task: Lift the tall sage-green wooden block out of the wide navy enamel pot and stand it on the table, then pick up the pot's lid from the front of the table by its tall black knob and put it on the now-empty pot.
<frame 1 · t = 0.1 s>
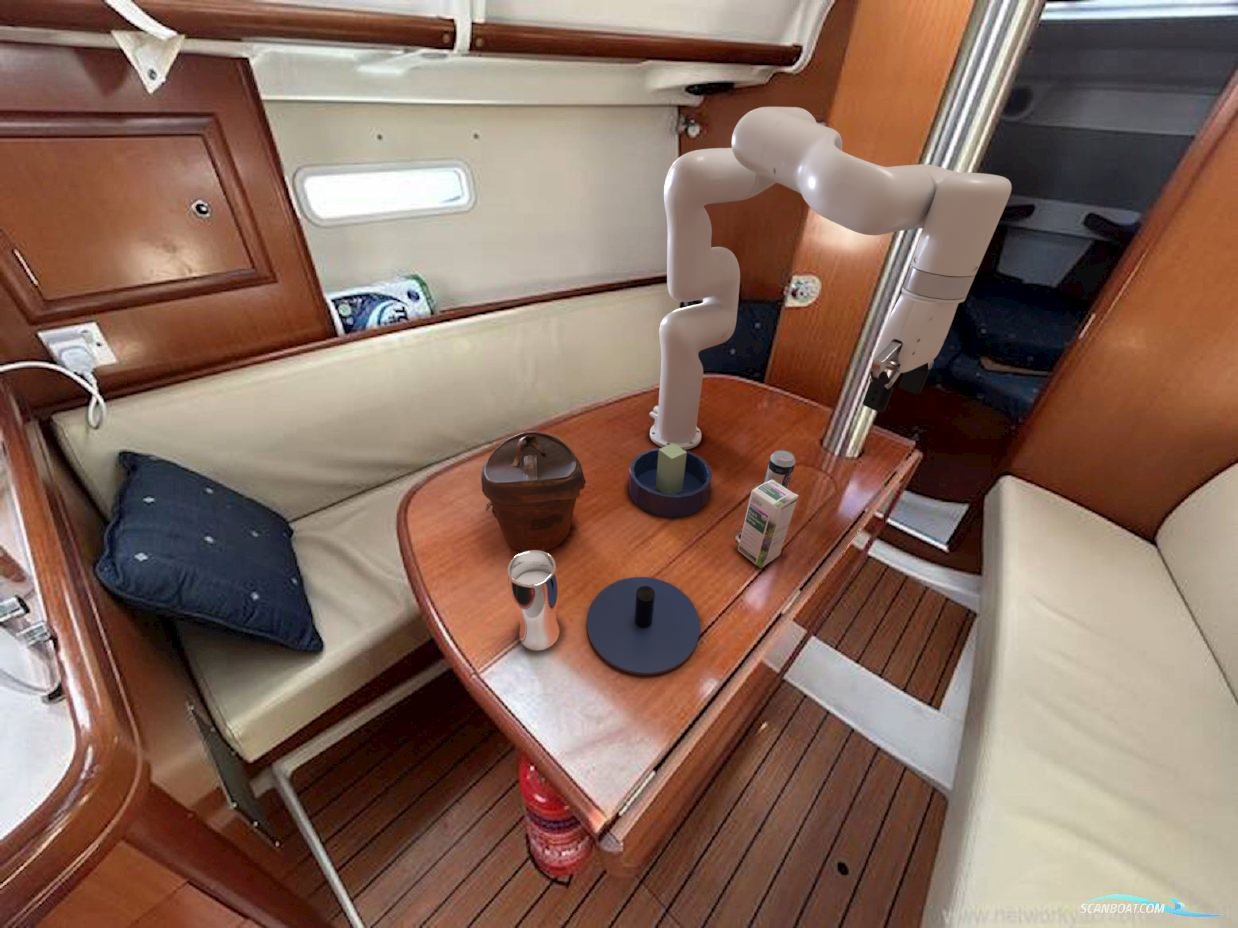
hand: (891, 399, 75), 31 cm above the table, tool pointing down, fingers open, 9 cm apart
syrup box: (758, 553, 92), on the table
pot: (668, 490, 106), on the table
beer glass: (539, 634, 78), on the table
lid: (643, 622, 79), point 1 cm above the table
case: (537, 528, 96), on the table
pill bottle: (771, 503, 104), on the table
block: (670, 470, 103), in the pot
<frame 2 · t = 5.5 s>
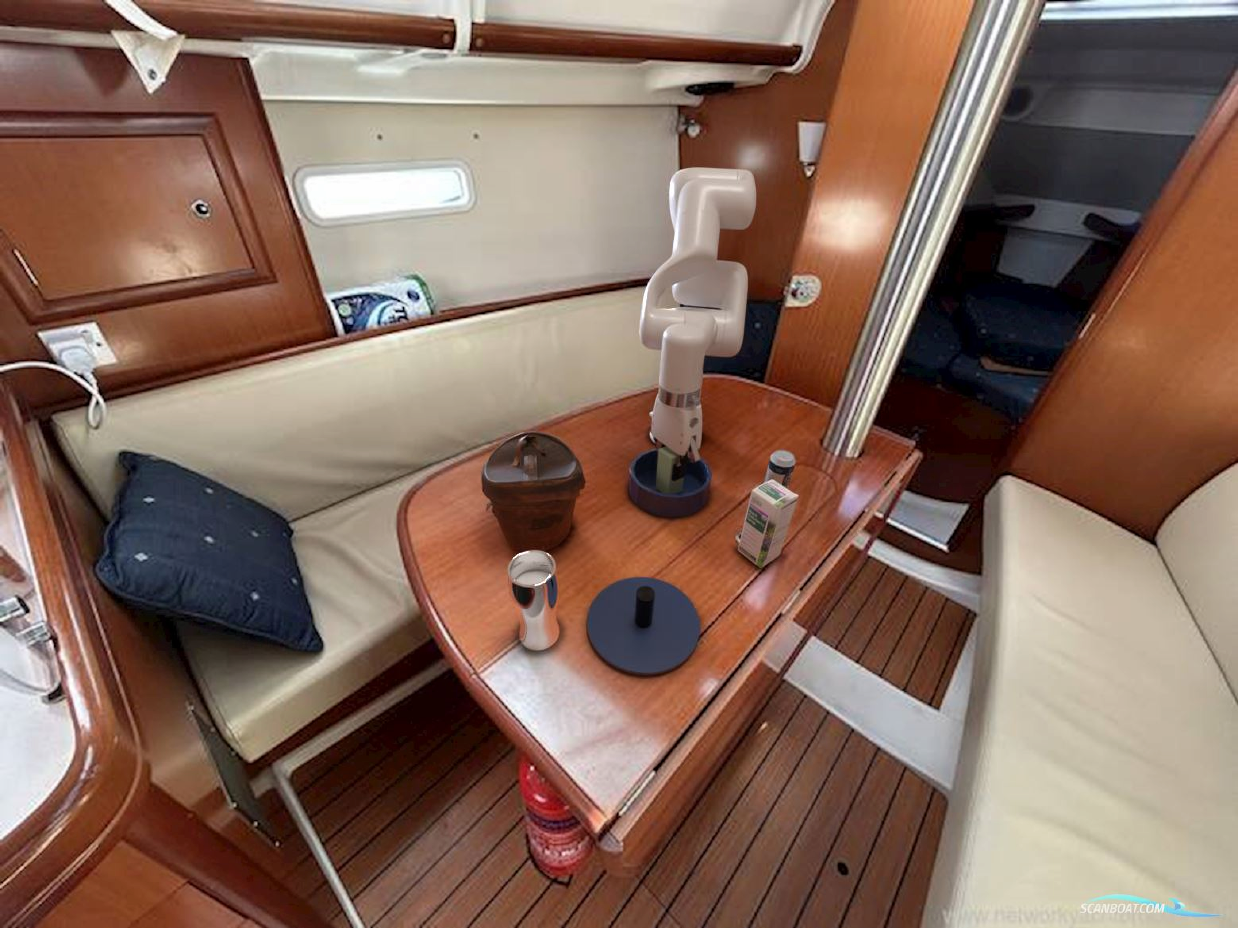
hand: (670, 471, 103), 5 cm above the table, tool pointing down, fingers closed on block, 4 cm apart
block: (670, 470, 103), in the pot, touching gripper
everything else where it was.
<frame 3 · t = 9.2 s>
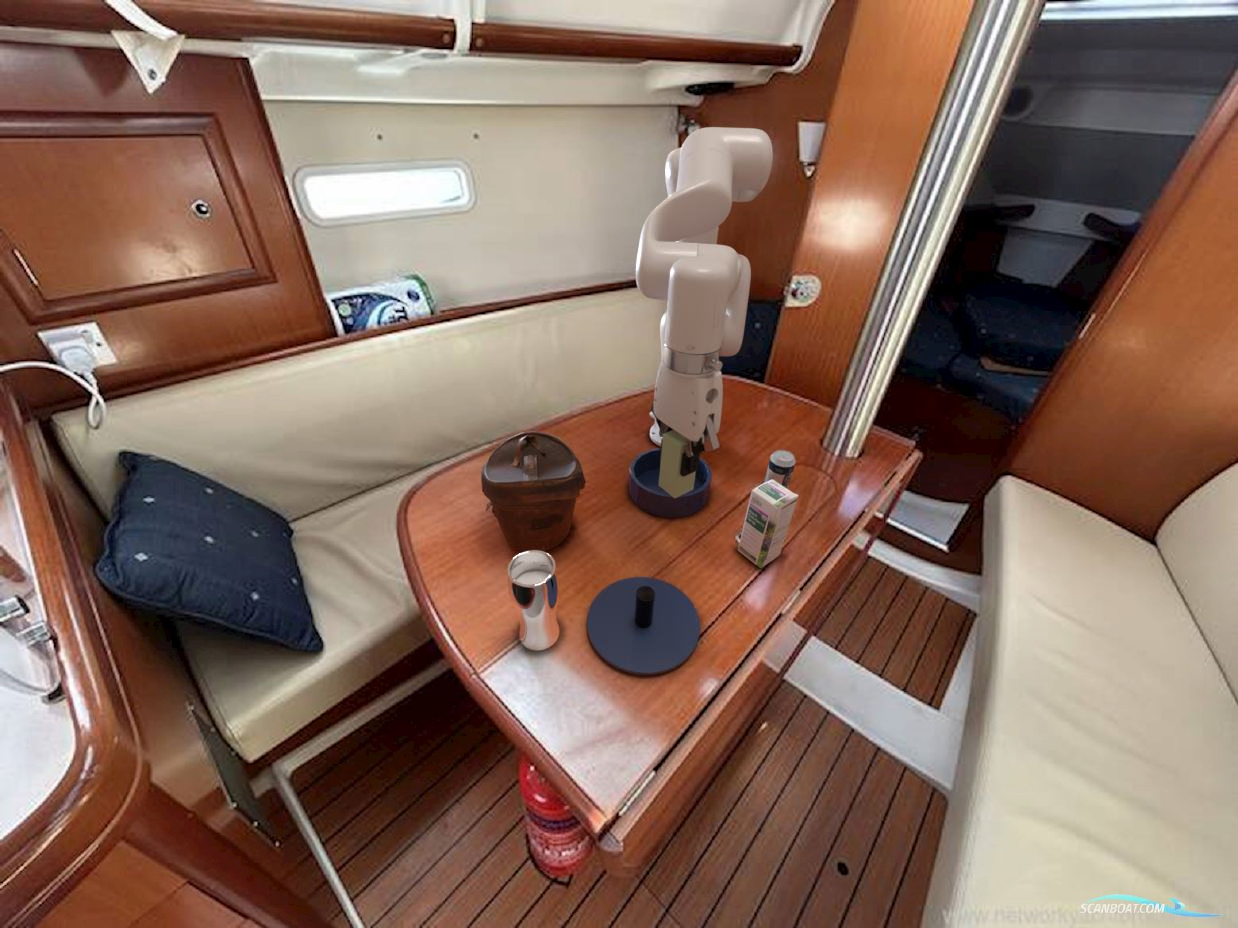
hand: (678, 464, 79), 21 cm above the table, tool pointing down, fingers closed on block, 4 cm apart
block: (678, 462, 78), point 21 cm above the table, touching gripper
everything else where it was.
when the fingers open (5 cm above the table, at t = 13.1 s): block stays where it is, on the table.
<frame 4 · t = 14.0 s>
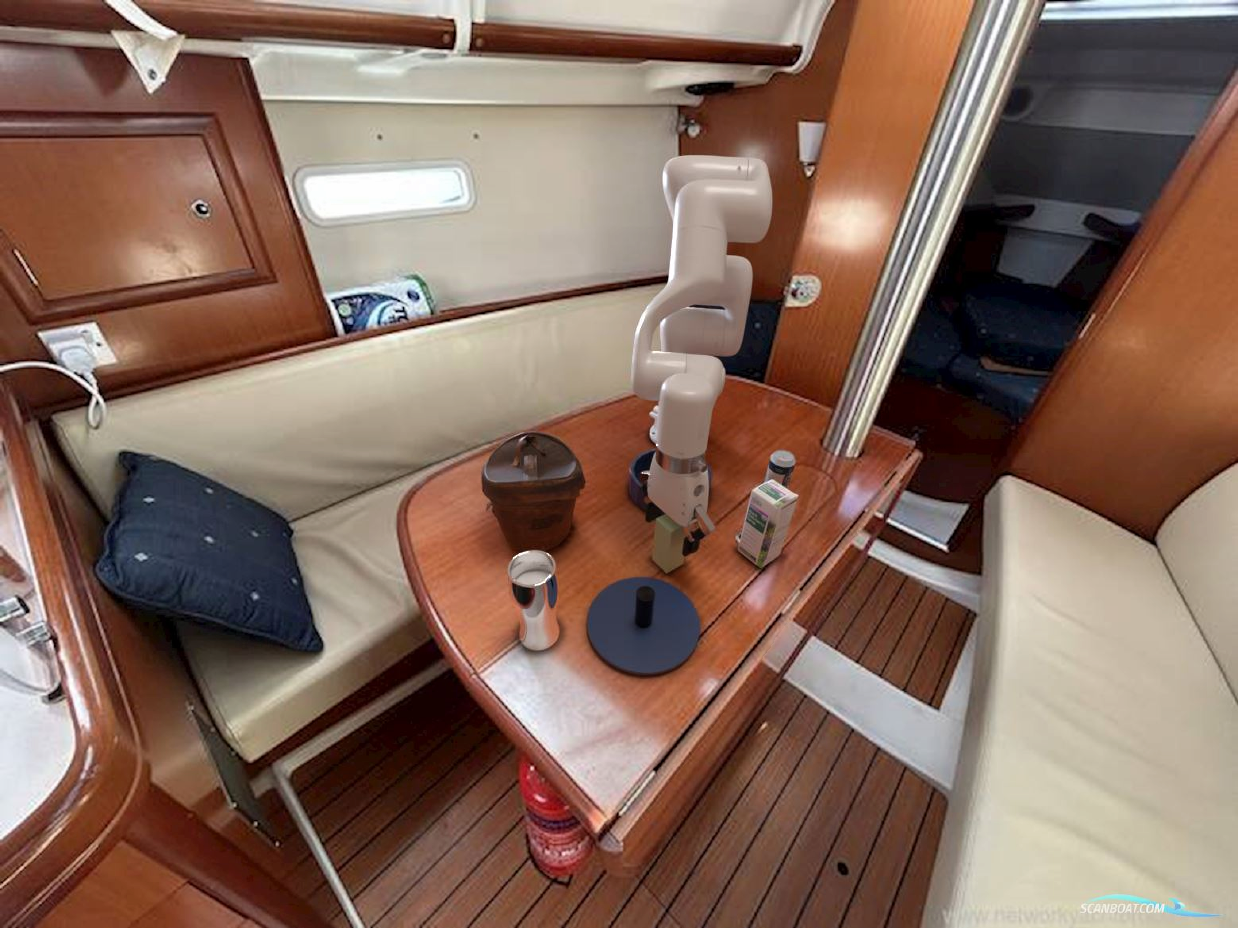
hand: (670, 535, 86), 6 cm above the table, tool pointing down, fingers open, 9 cm apart
block: (670, 541, 87), on the table
everything else where it was.
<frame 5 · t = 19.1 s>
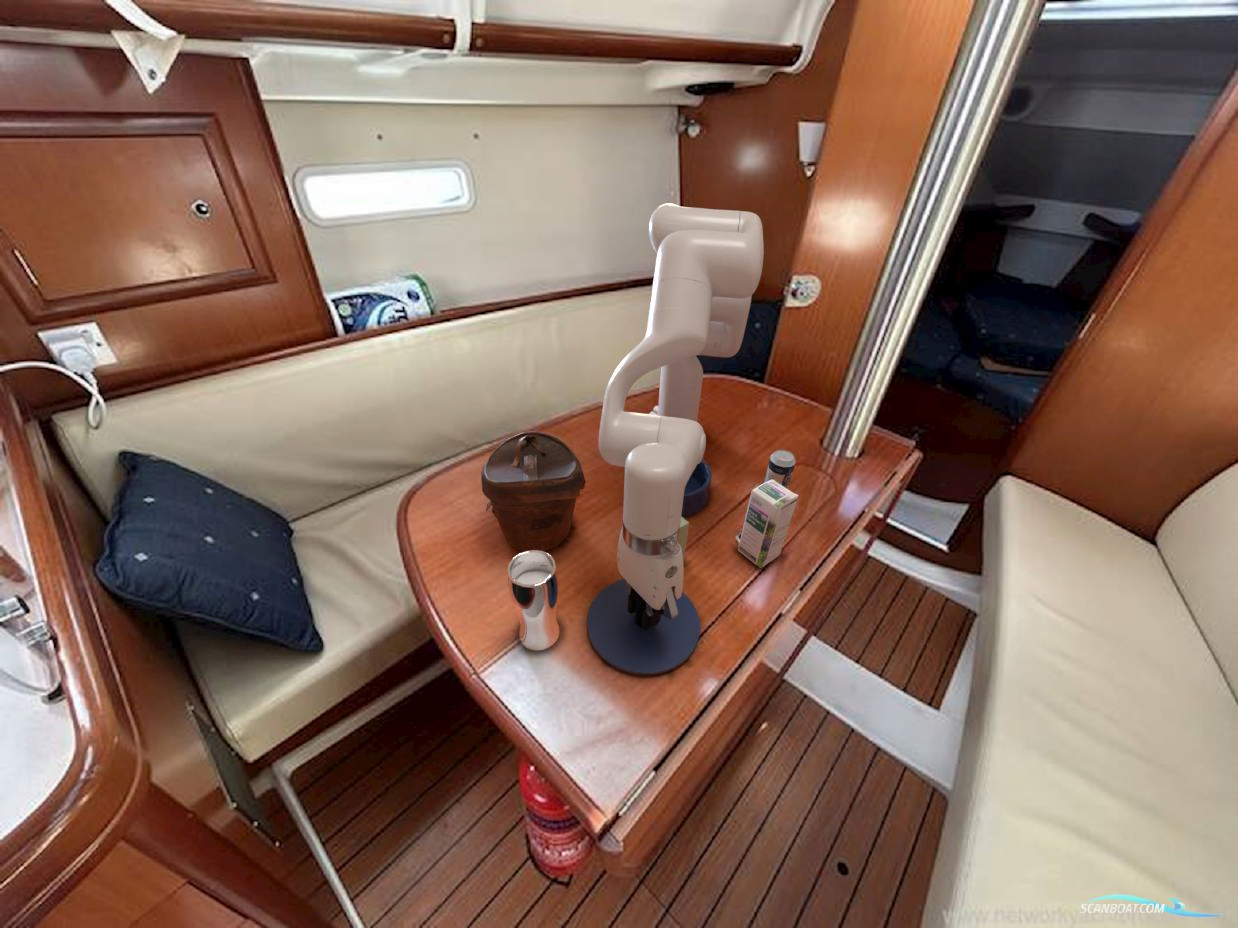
hand: (643, 615, 78), 2 cm above the table, tool pointing down, fingers closed on lid, 2 cm apart
lid: (643, 622, 79), point 1 cm above the table, touching gripper
everything else where it was.
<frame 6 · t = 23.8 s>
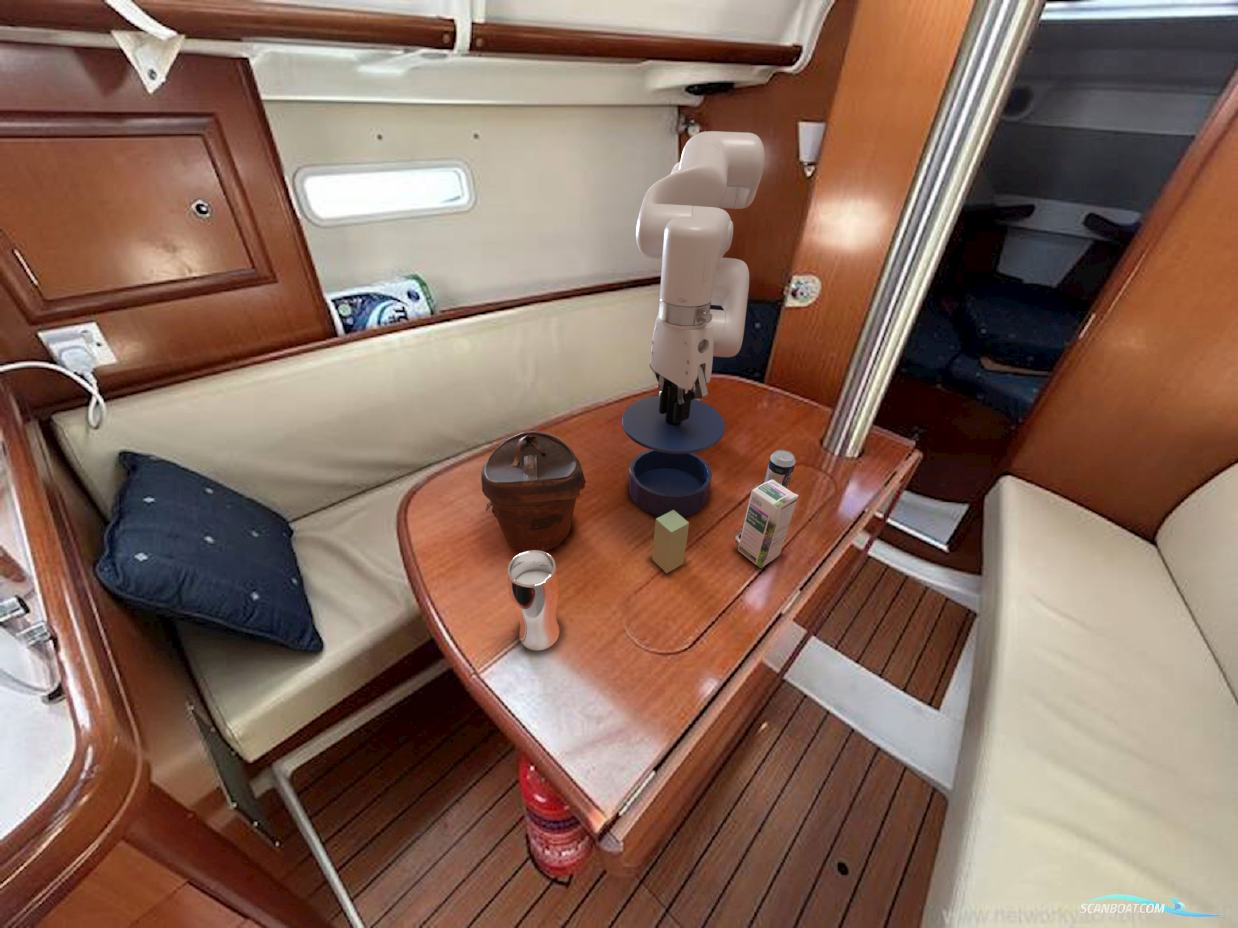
hand: (673, 415, 85), 23 cm above the table, tool pointing down, fingers closed on lid, 2 cm apart
lid: (672, 423, 87), point 22 cm above the table, touching gripper
everything else where it was.
when the fingers open (7 cm above the table, at t = 28.5 s): lid stays where it is, resting on pot.
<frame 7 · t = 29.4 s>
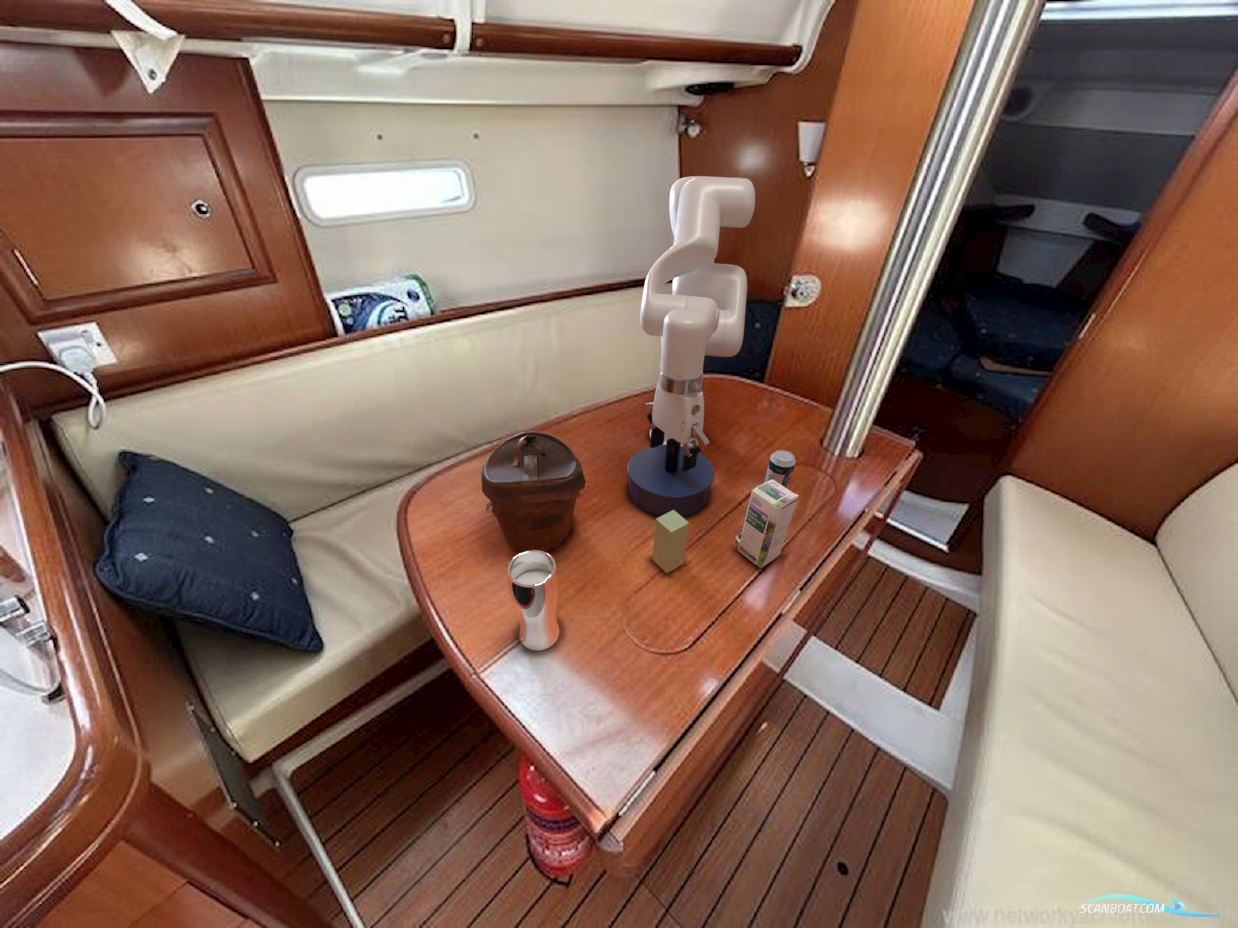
hand: (672, 456, 101), 9 cm above the table, tool pointing down, fingers open, 9 cm apart
lid: (670, 471, 103), point 5 cm above the table, touching pot
everything else where it was.
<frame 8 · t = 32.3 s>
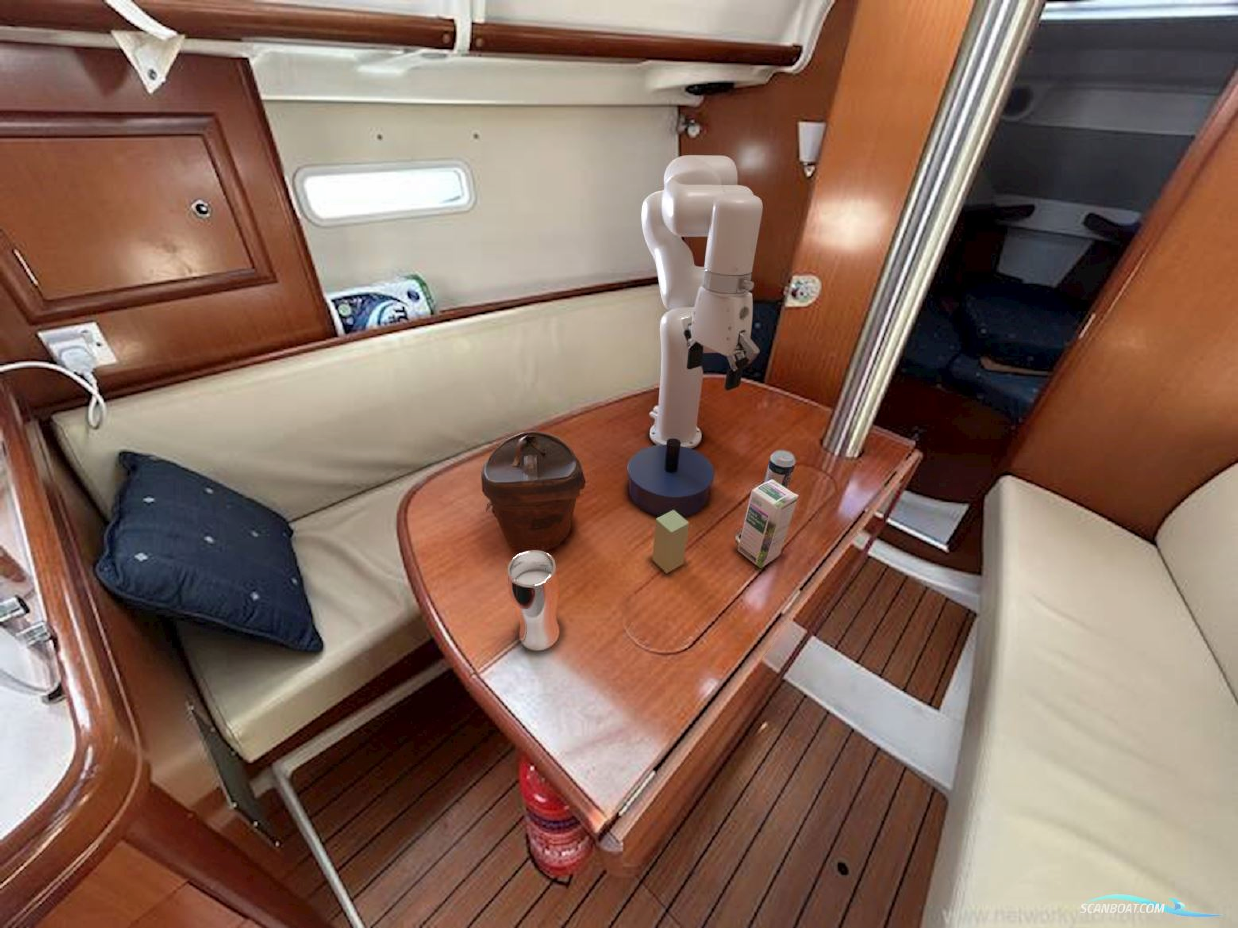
hand: (712, 377, 91), 26 cm above the table, tool pointing down, fingers open, 9 cm apart
nothing on the table moved.
at the end: block inside the target area (0.1 cm from its centre), on the table; lid 0.1 cm off-centre on the pot, point 5.4 cm above the pot's base; lid tilted 0° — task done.
